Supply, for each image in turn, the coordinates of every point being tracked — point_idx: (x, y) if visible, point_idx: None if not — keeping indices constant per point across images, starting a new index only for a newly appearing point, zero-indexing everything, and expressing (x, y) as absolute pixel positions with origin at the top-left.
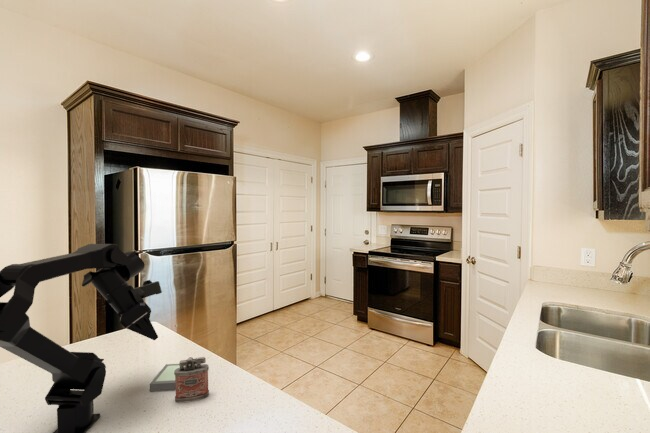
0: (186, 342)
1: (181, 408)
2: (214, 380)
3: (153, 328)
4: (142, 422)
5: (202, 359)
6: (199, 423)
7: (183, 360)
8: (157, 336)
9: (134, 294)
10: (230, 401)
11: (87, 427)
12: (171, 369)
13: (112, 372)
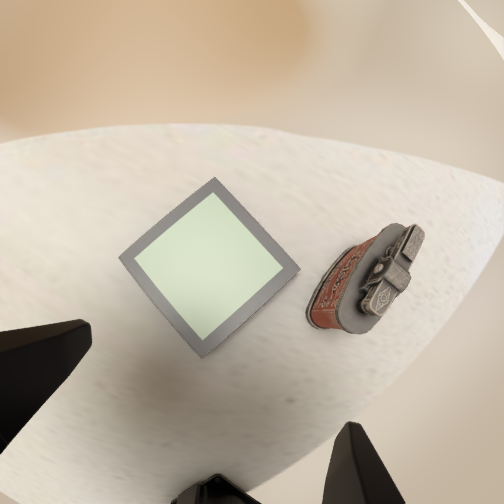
0: (38, 139)
1: None
2: (311, 200)
3: (396, 488)
4: (332, 418)
5: (420, 239)
6: (431, 325)
7: (377, 295)
8: (361, 429)
9: None
10: None
11: (253, 501)
12: (170, 264)
13: None
